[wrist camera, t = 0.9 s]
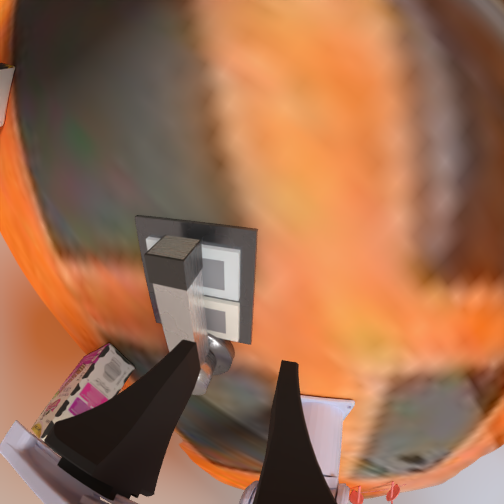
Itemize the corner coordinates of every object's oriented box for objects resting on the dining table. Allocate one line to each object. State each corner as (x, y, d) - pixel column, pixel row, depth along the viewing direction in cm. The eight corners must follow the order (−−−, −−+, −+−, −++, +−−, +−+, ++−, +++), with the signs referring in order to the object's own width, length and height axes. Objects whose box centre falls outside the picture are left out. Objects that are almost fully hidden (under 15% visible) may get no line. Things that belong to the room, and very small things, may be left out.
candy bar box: (108, 339, 29) (38, 439, 15) (136, 366, 30) (76, 467, 16) (83, 354, 34) (29, 429, 20) (105, 375, 35) (57, 451, 21)
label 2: (239, 338, 22) (237, 342, 22) (164, 321, 23) (162, 324, 23) (239, 302, 20) (237, 306, 20) (157, 285, 21) (154, 289, 21)
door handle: (218, 373, 23) (208, 398, 21) (182, 363, 24) (170, 387, 21) (208, 241, 17) (188, 266, 14) (158, 234, 17) (133, 256, 15)
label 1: (239, 297, 20) (238, 301, 19) (156, 281, 21) (153, 284, 21) (240, 249, 18) (238, 253, 17) (148, 236, 19) (145, 239, 19)
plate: (251, 342, 22) (250, 344, 22) (157, 320, 24) (156, 322, 24) (257, 229, 17) (256, 231, 17) (137, 215, 19) (134, 216, 18)
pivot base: (234, 371, 25) (231, 380, 24) (179, 357, 26) (174, 365, 25) (234, 330, 22) (230, 341, 21) (170, 316, 23) (164, 325, 22)
